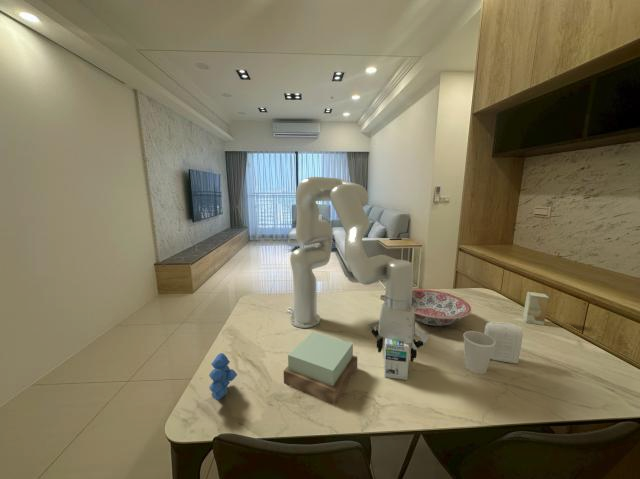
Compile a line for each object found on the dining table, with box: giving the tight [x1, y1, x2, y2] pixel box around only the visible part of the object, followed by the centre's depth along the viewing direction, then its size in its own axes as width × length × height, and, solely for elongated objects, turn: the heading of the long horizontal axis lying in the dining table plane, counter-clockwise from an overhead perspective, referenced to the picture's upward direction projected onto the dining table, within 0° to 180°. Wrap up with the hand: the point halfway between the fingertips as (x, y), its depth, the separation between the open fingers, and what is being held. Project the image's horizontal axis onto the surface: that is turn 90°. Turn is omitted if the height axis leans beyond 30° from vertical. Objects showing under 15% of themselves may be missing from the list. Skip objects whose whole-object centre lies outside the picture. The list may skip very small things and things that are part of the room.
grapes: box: [208, 352, 238, 401], centre depth 69 cm, size 12×7×12 cm, turn 8°
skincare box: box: [522, 291, 550, 326], centre depth 108 cm, size 6×4×12 cm
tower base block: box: [283, 354, 358, 405], centre depth 77 cm, size 16×16×4 cm
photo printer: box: [483, 321, 524, 364], centre depth 84 cm, size 10×4×12 cm, turn 72°
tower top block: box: [287, 331, 354, 386], centre depth 77 cm, size 14×14×4 cm
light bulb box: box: [383, 338, 410, 381], centre depth 80 cm, size 11×7×11 cm, turn 168°
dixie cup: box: [462, 330, 495, 374], centre depth 80 cm, size 8×8×10 cm
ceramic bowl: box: [412, 288, 472, 327], centre depth 111 cm, size 29×29×8 cm
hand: (395, 354), depth 80 cm, fingers open, 9 cm apart
